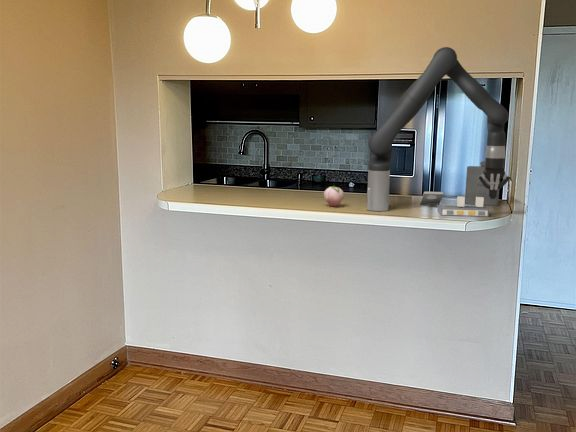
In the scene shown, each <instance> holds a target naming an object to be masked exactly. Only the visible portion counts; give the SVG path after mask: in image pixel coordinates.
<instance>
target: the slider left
mask: <svg viewBox="0 0 576 432" xmlns="http://www.w3.org/2000/svg"><path fill="white" fill-rule="evenodd" d="M456 205H457V206H458V207H464V205H465V195H457V197H456Z"/></svg>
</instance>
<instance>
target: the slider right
mask: <svg viewBox="0 0 576 432" xmlns="http://www.w3.org/2000/svg"><path fill="white" fill-rule="evenodd" d="M483 202H484V197H483V196H476V203H475V205H474V206H476V207H483V206H484V205H483Z"/></svg>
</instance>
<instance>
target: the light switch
mask: <svg viewBox="0 0 576 432" xmlns="http://www.w3.org/2000/svg"><path fill="white" fill-rule="evenodd" d="M444 195H445V193H444V191H423V194H422V197H421V199H420V202H419V205H420V206H438V205H441V202H442V199H443V197H444ZM423 204H424V205H423Z"/></svg>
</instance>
